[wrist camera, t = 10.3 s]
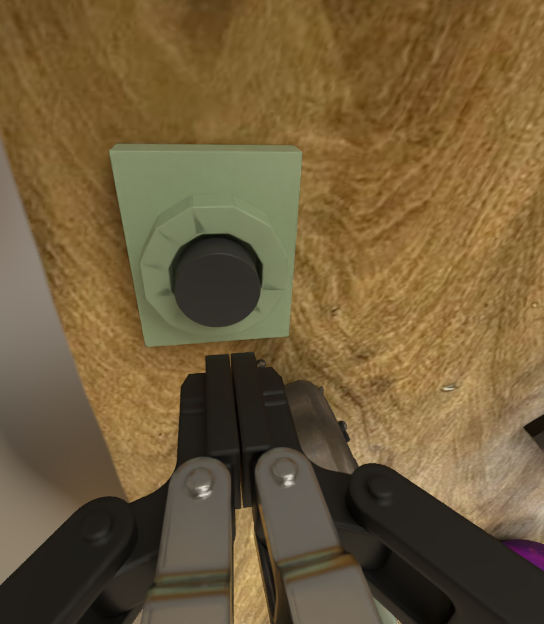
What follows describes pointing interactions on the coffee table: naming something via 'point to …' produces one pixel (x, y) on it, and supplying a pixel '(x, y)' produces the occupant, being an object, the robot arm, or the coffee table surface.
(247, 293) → the call button
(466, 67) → the coffee table surface
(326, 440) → the alarm clock
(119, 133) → the coffee table surface
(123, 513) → the robot arm
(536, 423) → the lever stand
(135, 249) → the call button base
